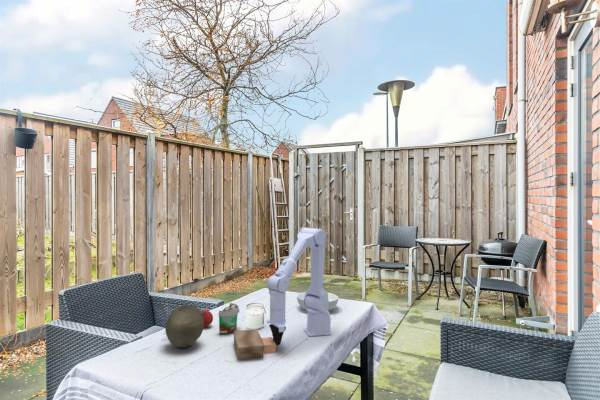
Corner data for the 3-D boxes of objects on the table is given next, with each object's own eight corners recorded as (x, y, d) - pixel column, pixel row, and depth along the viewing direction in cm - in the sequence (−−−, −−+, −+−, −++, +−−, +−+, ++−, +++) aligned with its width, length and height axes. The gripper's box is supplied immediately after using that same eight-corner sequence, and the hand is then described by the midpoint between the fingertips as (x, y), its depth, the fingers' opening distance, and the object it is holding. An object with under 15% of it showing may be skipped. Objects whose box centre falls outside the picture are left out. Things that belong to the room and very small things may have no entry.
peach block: (271, 344, 137) (271, 337, 137) (275, 352, 130) (275, 344, 130) (245, 347, 134) (245, 339, 134) (248, 355, 128) (248, 346, 128)
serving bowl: (340, 316, 172) (340, 302, 172) (296, 315, 172) (296, 301, 172) (336, 304, 193) (336, 291, 193) (297, 303, 193) (297, 290, 193)
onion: (205, 330, 150) (205, 311, 150) (195, 327, 153) (196, 309, 153) (215, 326, 155) (216, 308, 155) (206, 324, 158) (206, 305, 158)
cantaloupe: (155, 350, 130) (156, 309, 130) (182, 337, 143) (182, 299, 143) (187, 357, 124) (188, 314, 124) (212, 343, 138) (212, 303, 138)
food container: (232, 337, 143) (232, 312, 143) (217, 336, 145) (218, 311, 145) (243, 327, 156) (243, 303, 156) (229, 325, 157) (230, 302, 157)
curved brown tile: (256, 341, 140) (257, 329, 140) (264, 359, 125) (264, 345, 125) (233, 343, 138) (233, 330, 138) (238, 361, 122) (238, 347, 122)
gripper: (263, 303, 140) (262, 338, 140) (271, 315, 126) (270, 353, 126) (281, 302, 142) (280, 336, 142) (290, 313, 128) (290, 351, 128)
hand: (277, 344), depth 134 cm, fingers closed, pressing on peach block
